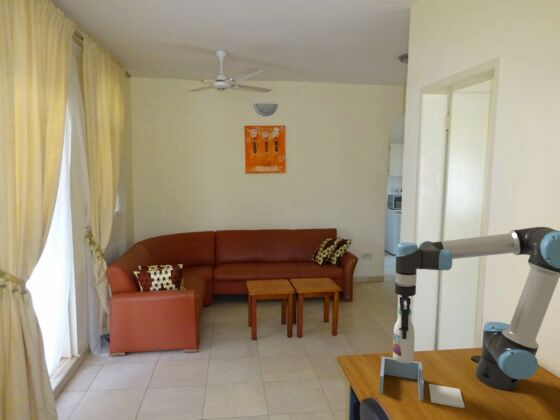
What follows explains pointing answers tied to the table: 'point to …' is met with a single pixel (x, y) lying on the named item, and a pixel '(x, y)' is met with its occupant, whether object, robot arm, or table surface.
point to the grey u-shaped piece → (402, 372)
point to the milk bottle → (399, 352)
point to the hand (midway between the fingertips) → (403, 341)
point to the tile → (446, 395)
